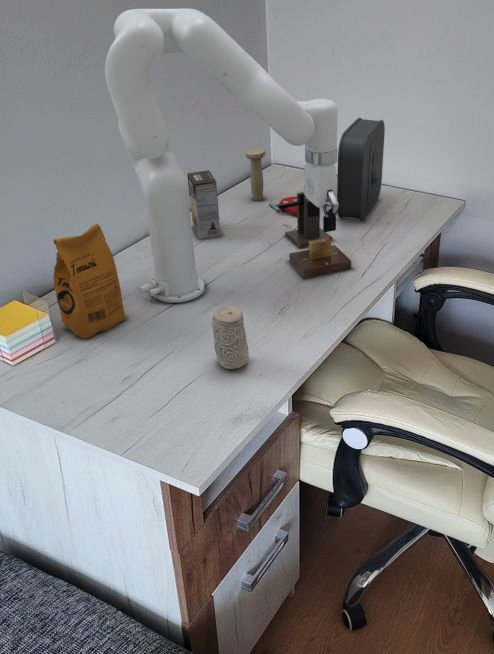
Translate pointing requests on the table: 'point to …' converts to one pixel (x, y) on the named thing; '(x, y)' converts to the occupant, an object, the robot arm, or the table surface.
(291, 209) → the tracker holder
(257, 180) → the handle
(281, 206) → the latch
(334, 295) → the table surface
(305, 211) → the latch bracket
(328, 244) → the thumbturn
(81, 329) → the coffee package
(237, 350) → the carving
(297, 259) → the plate
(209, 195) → the coffee box
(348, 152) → the speaker
